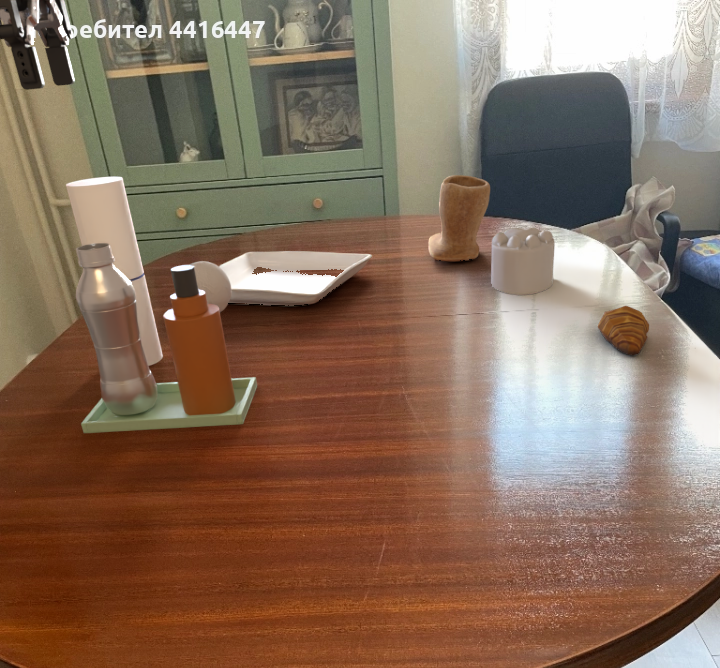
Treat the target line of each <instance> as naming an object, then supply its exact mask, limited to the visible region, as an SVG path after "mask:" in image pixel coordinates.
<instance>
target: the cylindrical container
mask: <svg viewBox="0 0 720 668" xmlns="http://www.w3.org/2000/svg"><path fill="white" fill-rule="evenodd" d="M65 187H66V188H65V189H66V191H67V195H68V199H69V202H70V207H71V211H72V214H73V218H74V222H75V225H76V230H77V234H78V236H79V237H78V238H79V240H80V244H81V246H83V245H87V244H94V243H108V244H110V246H111V250H112V254H113V256H114V258H115V261H114V262H113V264H114V266H115V267H116V268H117V269H118V270H119V271H120V272H121V273H123V274H124V275H125V276H126V277H127V279H128V280H129V281H130V282H131V284H132V286H133V287H134V289H135V295H136V298H135V299H136V306H137V319H138V326H139V331H140V334H139V336H140V337H141V343H142V347H143V350H144V353H145V356H146V359H147V363H148V366H149V367H150V366H152V365H155V364H157V363H159V362H161V360H162V359H163V357H164V355H163V350H162V346H161V341H160V336H159V333H158V329H157V324H156V319H155V315H154V311H153V306H152V301H151V297H150V292H149V289H148V284H147V280H146V275H145V271H144V267H143V263H142V258H141V253H140V248H139V245H138V240H137V236H136V231H135V227H134V221H133V218H132V213H131V210H130V205H129V200H128V196H127V192H126V188H125V182H124V178H123V177H122V176H103V177H102V176H101V177H92V178H86V179H79V180H75V181H72V182H71V181H70V182H67V183H66V184H65Z"/></svg>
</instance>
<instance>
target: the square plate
mask: <svg viewBox="0 0 720 668" xmlns="http://www.w3.org/2000/svg"><path fill="white" fill-rule="evenodd" d="M372 258H373V255H372V254H369V253H348V252H347V253H346V252H332V251H331V252H330V251H329V252H328V251H306V250H305V251H301V250H295V251H294V250H292V251H291V250H287V251H286V250H285V251H283V250H281V251H279V250H277V251H249V252H245V253H243V254H242V255H239V256H237V257H235V258H233V259H230V260H228V261H226V262H224V263H223V264H219V265H218V266H219V267H220V268H221V269H222V270H223V271H224V272H225V273H226V275H227V276H228V278H229V281H230V284H231V297H230V301H229V303H245V304H244V305H249V304H260V305H259V306H271V305H285V306H284V307H295V306H294V305H302V306H305V305H304V304H308V305H313V304H316V303H318V302H319V300H320V299H321V300H323V299H324V298H325V297H326V296H328V295H329V294H330V293H332V292H333V291H334V290H335V289H337V288H338V287H340V286H341V285H343V284H344V283H345V282H347V281H348V280H349V279H350V278H352V277H354V276H355V275H356V274H357V273H359V272H361V270H362V269H364V267H365V266H367V264H368V263H369V261H370V260H371V259H372ZM257 267H262V268H266V269H268V268H269V269H271V270H274V271H271V272H266V273H265V272H263V273H259V274H258V273H257V275H256V274H252V273H254V272H253V271H254V269H256V268H257ZM328 269H329V270H331V269H333V270H334V269H337V270H340V269H341V270H344V271H343V272H342V273H340V274H339V275H338V276H337V277H335V276H331V275H326V274H325V275H323V276H322V275H317V274H313V275H308V274H306V273H305V274H306V275H305V274H303V273H302V274H303V275H302V274H300V272H299V273H298V272H296V271H297V270H298V271H300V270H328ZM275 270H277V271H275ZM287 270H288V271H289V272H288V271H287ZM283 271H284V272H283ZM285 271H287V272H285ZM290 271H291V272H290ZM292 271H293V272H292ZM340 284H341V285H340ZM336 287H337V288H336ZM333 289H334V290H333ZM332 290H333V291H332ZM329 292H330V293H329ZM328 293H329V294H328ZM327 294H328V295H327ZM323 297H324V298H323ZM321 300H320V301H321ZM246 303H247V304H246ZM261 304H263V305H261ZM288 305H289V306H288Z"/></svg>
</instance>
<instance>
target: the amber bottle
mask: <svg viewBox="0 0 720 668" xmlns="http://www.w3.org/2000/svg"><path fill="white" fill-rule="evenodd" d="M170 274H171V278H172V283H173V287H174V293H173V294H171V295H170V296H169V299H170V303H171V309H168V310H167V311H165V312H164V313H163V315H162V317H163V321H164V326H165V331H166V336H167V339H168V340H167V341H168V344H169V349H170V353H171V358H172V362H173V367H174V372H175V376H176V382H178V386H179V390H180V395H181V399H182V404H183V408H184V412H185V413H186V414H188V415H206V414H222V413H224V412H226V411H228V410H230V409H231V408H233V407H234V405H235V403H236V401H235V395H234V390H233V384H232V379H233V378H232V373H231V368H230V363H229V356H228V352H227V345H226V340H225V334H224V327H223V323H222V317H221V312H219V307H218V306H216V305H214V304H208V303H207V299H206V293H205V291H203V290H198V285H197V279H196V274H195V269H194V266H192V265H190V264H182V265H178V266H177V265H176V266H174V267H172V268H170Z"/></svg>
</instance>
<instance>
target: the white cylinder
mask: <svg viewBox="0 0 720 668" xmlns="http://www.w3.org/2000/svg"><path fill="white" fill-rule="evenodd" d="M189 265H192V266H194V269H195V274H196V279H197V285H198V290H203V291H205V293H206V299H207V303H208V304H214V305H216V306H218V307H219V312H220V313H221V312H223V311H224V310H225V309H226V308H227V306H228V305H229V304H228V303H229V301H230V297H231V284H230V281H229V278H228V276H227V275H226V273H225V272H224V271H223V270H222V269H221V268H220V267H219V266H220V265H217V264H216V263H214V262H209V261H205V260H204V261H203V260H201V261H195V262H192V263H190V264H189Z"/></svg>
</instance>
